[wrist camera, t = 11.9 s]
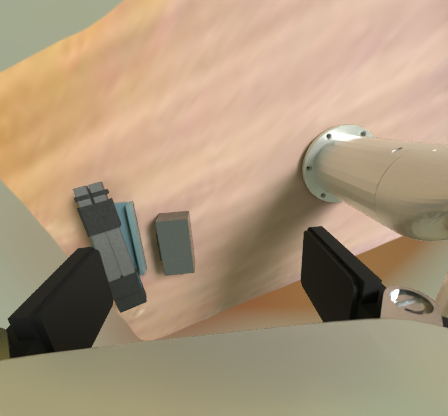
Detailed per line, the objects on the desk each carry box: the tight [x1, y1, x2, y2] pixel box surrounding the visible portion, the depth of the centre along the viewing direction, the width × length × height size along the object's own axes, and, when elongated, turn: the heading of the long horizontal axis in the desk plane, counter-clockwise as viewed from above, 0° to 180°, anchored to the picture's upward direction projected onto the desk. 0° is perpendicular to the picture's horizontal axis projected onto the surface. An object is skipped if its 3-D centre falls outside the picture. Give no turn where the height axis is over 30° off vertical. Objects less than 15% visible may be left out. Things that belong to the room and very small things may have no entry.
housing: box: [155, 211, 195, 276], centre depth 40 cm, size 5×10×4 cm, turn 3°
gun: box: [73, 182, 147, 313], centre depth 38 cm, size 4×20×10 cm, turn 17°
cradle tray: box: [90, 201, 147, 275], centre depth 40 cm, size 7×13×2 cm, turn 3°
